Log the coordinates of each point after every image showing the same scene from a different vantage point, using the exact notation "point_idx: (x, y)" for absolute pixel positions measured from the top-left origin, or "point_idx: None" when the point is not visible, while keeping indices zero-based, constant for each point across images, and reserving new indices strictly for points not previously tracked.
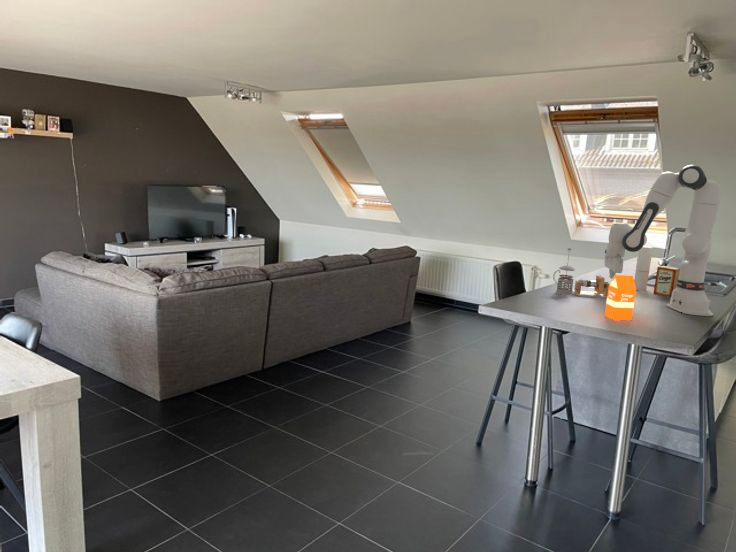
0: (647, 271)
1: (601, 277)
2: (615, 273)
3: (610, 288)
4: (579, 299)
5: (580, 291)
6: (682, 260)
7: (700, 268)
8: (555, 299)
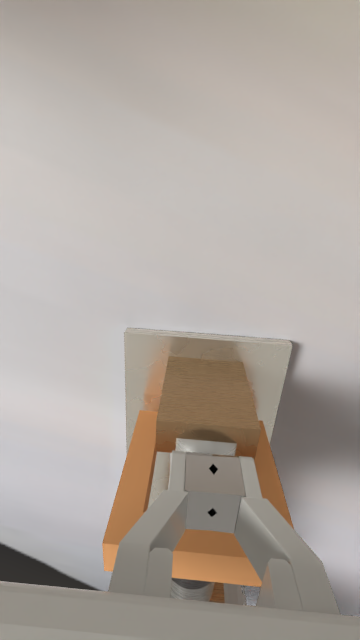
0: None
1: (243, 572)
2: (306, 548)
3: None
4: (342, 535)
5: (155, 493)
6: None
7: None
8: (353, 615)
